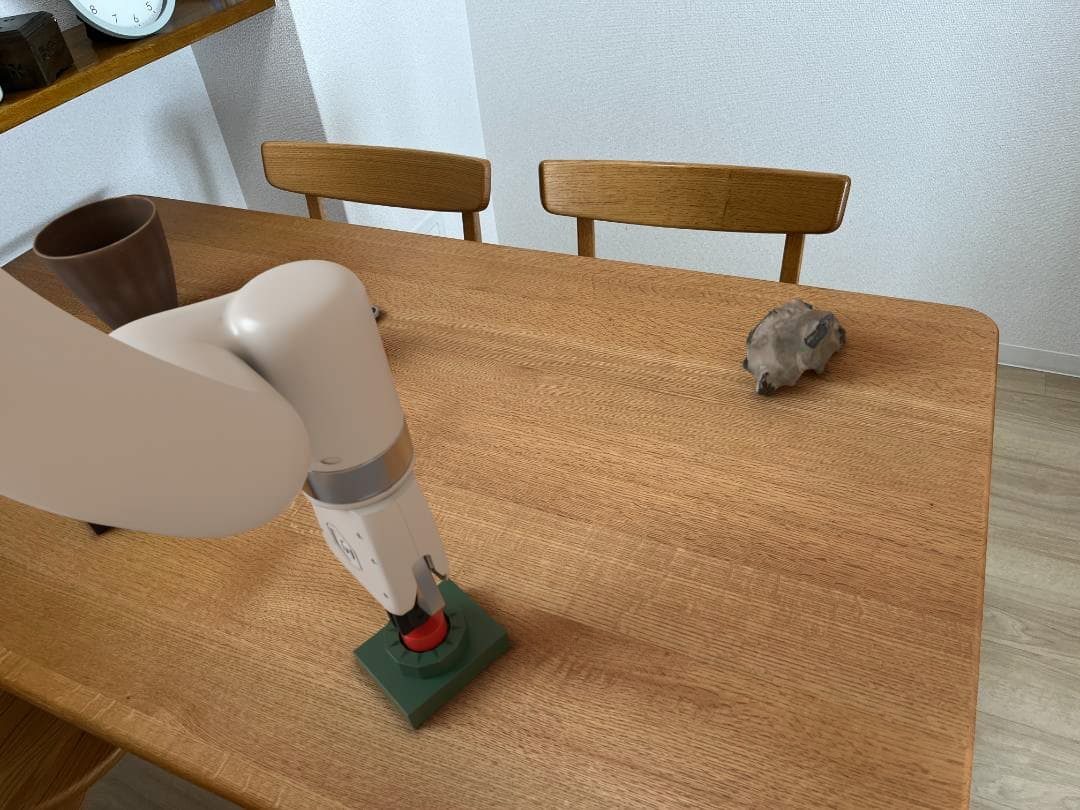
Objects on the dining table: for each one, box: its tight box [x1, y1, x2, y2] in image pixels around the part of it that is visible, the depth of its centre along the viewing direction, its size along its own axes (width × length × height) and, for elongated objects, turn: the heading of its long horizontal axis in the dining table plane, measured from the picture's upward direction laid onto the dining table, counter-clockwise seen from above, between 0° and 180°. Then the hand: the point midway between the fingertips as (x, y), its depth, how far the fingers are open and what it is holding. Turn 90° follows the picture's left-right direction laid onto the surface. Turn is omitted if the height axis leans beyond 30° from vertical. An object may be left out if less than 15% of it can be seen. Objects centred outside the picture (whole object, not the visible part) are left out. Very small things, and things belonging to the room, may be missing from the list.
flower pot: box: [32, 195, 179, 331], centre depth 106 cm, size 15×15×16 cm
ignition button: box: [401, 609, 447, 652], centre depth 64 cm, size 4×4×2 cm
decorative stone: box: [741, 298, 847, 397], centre depth 85 cm, size 16×9×10 cm, turn 149°
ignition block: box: [352, 577, 512, 731], centre depth 66 cm, size 10×8×4 cm
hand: (414, 618), depth 63 cm, fingers closed
